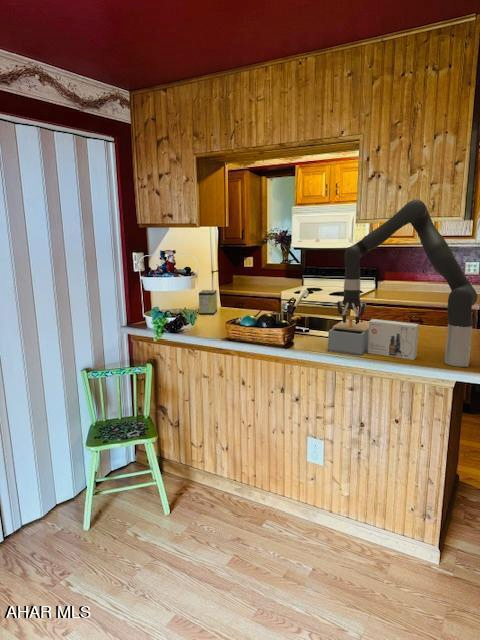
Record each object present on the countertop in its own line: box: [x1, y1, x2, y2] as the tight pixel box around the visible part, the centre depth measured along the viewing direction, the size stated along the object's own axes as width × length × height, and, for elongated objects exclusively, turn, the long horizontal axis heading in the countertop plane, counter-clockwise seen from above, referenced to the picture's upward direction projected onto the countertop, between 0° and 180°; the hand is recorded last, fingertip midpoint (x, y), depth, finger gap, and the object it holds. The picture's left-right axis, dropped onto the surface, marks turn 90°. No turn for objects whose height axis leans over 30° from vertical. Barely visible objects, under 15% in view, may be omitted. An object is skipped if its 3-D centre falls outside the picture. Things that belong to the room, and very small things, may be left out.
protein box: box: [198, 289, 218, 316], centre depth 303 cm, size 10×16×16 cm
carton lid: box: [331, 315, 369, 332], centre depth 210 cm, size 16×16×6 cm
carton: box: [327, 328, 369, 356], centre depth 207 cm, size 16×16×10 cm
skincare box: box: [367, 318, 420, 361], centre depth 196 cm, size 21×6×16 cm, turn 56°
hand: (350, 323), depth 206 cm, fingers closed on carton lid, 5 cm apart
